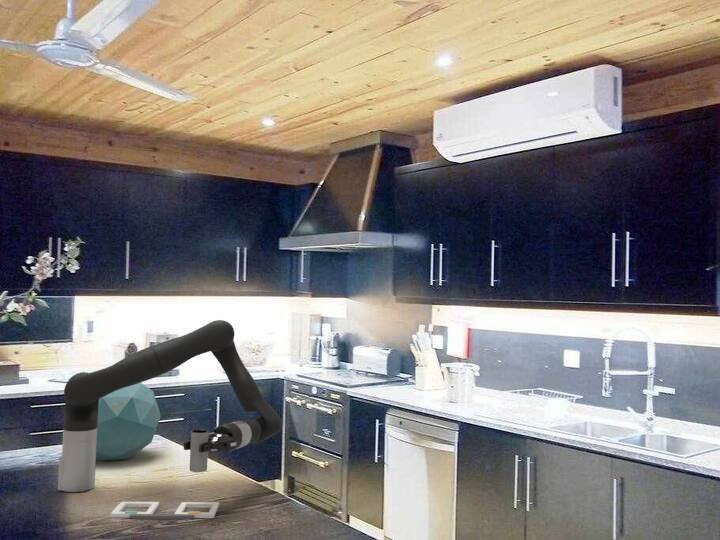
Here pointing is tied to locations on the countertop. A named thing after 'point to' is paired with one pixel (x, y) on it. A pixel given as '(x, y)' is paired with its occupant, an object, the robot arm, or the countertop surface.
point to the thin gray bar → (161, 517)
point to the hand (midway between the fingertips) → (192, 447)
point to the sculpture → (126, 422)
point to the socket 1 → (119, 514)
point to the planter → (196, 458)
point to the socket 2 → (198, 514)
